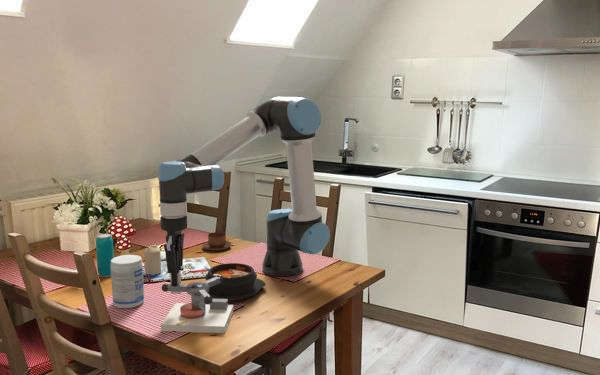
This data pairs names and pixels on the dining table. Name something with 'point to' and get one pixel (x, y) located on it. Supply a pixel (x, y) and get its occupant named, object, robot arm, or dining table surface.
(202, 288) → the capstan
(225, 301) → the stand
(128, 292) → the supplement tub
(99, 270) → the beverage can
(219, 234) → the cup and saucer
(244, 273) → the casserole
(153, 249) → the candle
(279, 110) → the robot arm
